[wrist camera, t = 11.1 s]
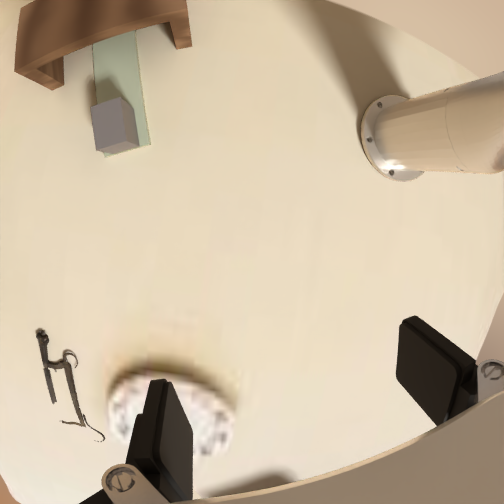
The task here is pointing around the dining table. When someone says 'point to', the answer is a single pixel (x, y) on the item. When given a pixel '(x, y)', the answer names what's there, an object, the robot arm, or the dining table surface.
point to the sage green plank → (118, 96)
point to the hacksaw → (64, 364)
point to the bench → (85, 30)
